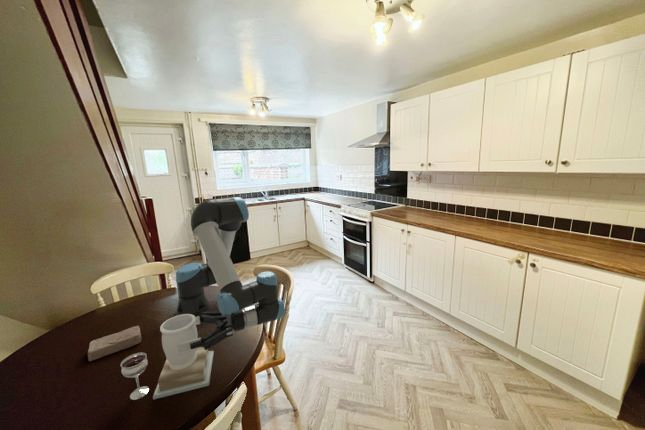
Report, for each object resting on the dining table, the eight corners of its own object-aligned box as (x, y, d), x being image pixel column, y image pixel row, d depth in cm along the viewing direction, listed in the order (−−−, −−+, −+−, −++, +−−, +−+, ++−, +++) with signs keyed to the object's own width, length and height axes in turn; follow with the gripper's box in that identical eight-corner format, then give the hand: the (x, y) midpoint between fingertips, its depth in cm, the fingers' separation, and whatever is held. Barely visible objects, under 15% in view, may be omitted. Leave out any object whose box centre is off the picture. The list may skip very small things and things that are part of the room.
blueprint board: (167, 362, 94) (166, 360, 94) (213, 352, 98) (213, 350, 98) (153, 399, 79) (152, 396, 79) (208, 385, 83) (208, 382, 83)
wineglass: (126, 390, 82) (120, 358, 80) (151, 380, 86) (146, 349, 84) (125, 406, 77) (119, 372, 74) (152, 394, 80) (147, 361, 78)
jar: (187, 347, 94) (183, 310, 92) (206, 356, 90) (202, 317, 87) (158, 367, 85) (152, 327, 82) (178, 377, 81) (172, 335, 78)
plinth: (170, 362, 93) (169, 352, 92) (208, 354, 96) (207, 344, 96) (159, 391, 80) (158, 380, 80) (204, 380, 84) (203, 370, 84)
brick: (88, 362, 95) (86, 351, 94) (90, 350, 101) (88, 340, 100) (142, 343, 105) (140, 333, 104) (140, 333, 111) (139, 324, 111)
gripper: (251, 347, 85) (179, 371, 75) (238, 311, 106) (181, 326, 97) (249, 327, 83) (176, 348, 74) (237, 294, 105) (179, 308, 96)
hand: (178, 336), depth 85 cm, fingers open, 13 cm apart
